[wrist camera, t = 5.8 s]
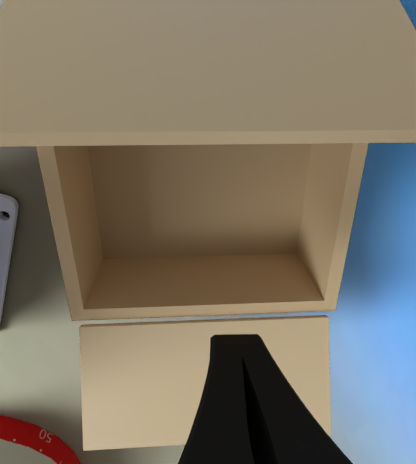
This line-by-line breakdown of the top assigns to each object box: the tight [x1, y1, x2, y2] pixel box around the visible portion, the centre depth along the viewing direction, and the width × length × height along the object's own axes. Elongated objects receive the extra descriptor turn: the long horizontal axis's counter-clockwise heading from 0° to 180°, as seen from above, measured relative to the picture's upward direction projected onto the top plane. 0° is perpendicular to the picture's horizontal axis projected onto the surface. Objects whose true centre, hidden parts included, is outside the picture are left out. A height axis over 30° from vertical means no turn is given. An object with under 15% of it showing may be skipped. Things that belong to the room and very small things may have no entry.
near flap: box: [0, 0, 416, 147], centre depth 9 cm, size 6×11×1 cm
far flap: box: [79, 315, 331, 451], centre depth 16 cm, size 6×11×1 cm, turn 90°
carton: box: [36, 143, 369, 321], centre depth 16 cm, size 12×12×5 cm
